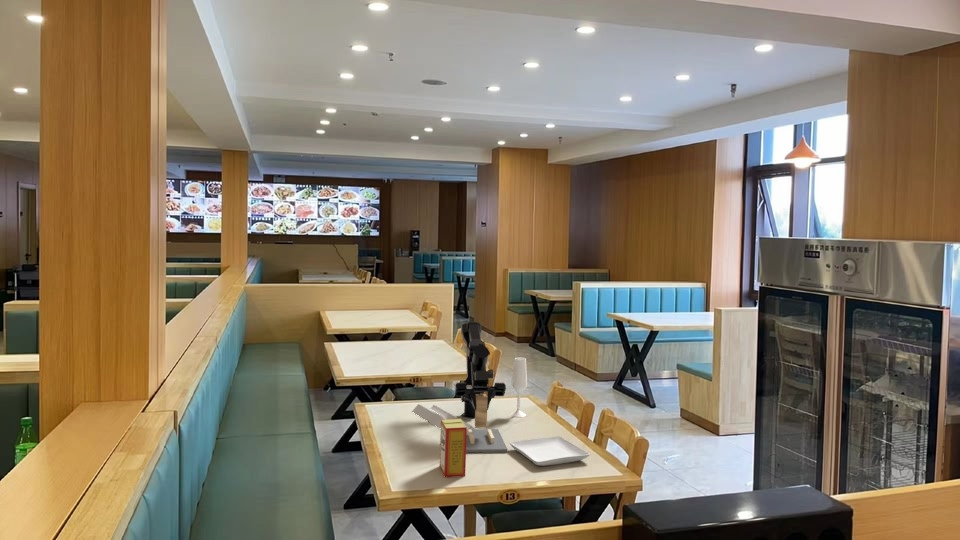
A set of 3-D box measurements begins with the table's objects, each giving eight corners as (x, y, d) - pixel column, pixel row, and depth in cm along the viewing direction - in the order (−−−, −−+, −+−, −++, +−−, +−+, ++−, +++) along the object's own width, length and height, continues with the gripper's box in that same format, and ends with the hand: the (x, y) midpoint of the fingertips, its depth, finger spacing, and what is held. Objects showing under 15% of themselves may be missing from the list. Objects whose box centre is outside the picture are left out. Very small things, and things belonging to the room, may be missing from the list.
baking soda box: (465, 476, 203) (466, 426, 202) (444, 477, 202) (446, 427, 200) (459, 465, 212) (460, 417, 211) (439, 466, 211) (441, 418, 210)
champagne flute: (510, 411, 275) (513, 356, 273) (526, 413, 274) (528, 357, 272) (509, 416, 268) (511, 359, 267) (525, 417, 267) (527, 360, 266)
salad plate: (507, 450, 229) (507, 440, 229) (559, 443, 238) (559, 434, 237) (536, 471, 210) (536, 461, 210) (591, 464, 218) (591, 454, 218)
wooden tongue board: (474, 424, 239) (475, 392, 238) (485, 424, 239) (486, 392, 238) (475, 427, 235) (476, 395, 234) (486, 427, 236) (487, 395, 235)
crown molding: (473, 431, 250) (473, 422, 250) (446, 435, 244) (446, 426, 243) (436, 409, 277) (436, 401, 276) (410, 413, 270) (410, 404, 270)
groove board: (456, 432, 245) (456, 424, 245) (497, 432, 247) (498, 424, 247) (461, 453, 224) (462, 444, 223) (507, 452, 226) (507, 443, 225)
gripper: (456, 361, 238) (458, 398, 228) (506, 361, 241) (510, 398, 231) (453, 377, 247) (455, 413, 236) (502, 377, 249) (505, 413, 239)
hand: (481, 409), depth 235 cm, fingers closed on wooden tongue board, 4 cm apart
